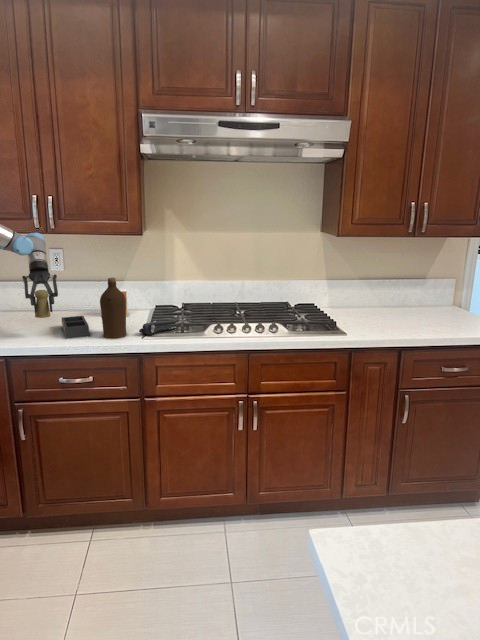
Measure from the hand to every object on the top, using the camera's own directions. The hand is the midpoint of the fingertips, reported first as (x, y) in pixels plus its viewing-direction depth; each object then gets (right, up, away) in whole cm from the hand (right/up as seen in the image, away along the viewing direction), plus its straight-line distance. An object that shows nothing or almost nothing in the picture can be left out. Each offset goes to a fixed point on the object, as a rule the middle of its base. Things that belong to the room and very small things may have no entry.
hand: (43, 310), depth 189 cm
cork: (-2, -2, +4) cm, 5 cm away
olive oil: (+26, -11, +11) cm, 30 cm away
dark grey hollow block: (+8, -9, +15) cm, 19 cm away
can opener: (+44, -9, +16) cm, 48 cm away
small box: (+20, -2, +43) cm, 47 cm away
